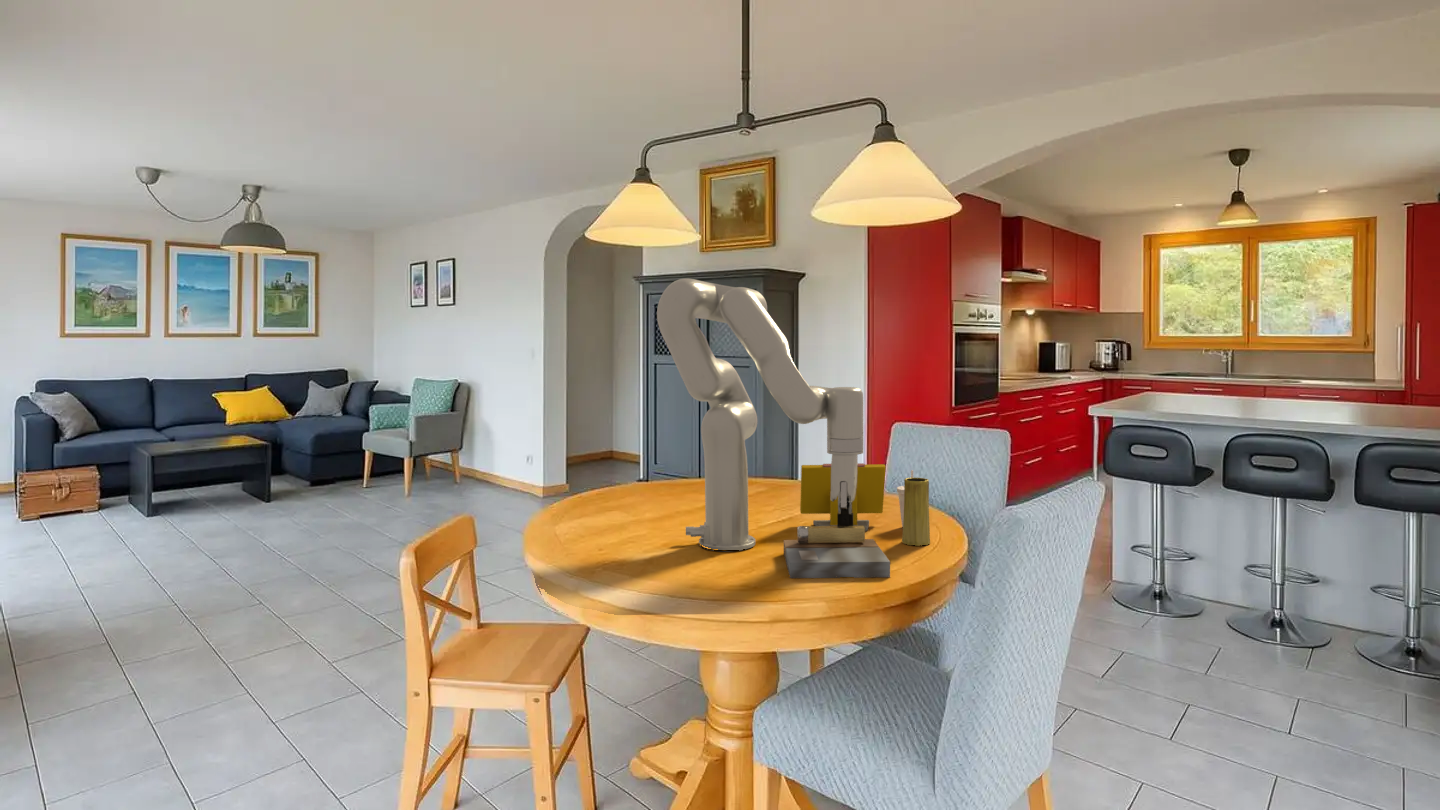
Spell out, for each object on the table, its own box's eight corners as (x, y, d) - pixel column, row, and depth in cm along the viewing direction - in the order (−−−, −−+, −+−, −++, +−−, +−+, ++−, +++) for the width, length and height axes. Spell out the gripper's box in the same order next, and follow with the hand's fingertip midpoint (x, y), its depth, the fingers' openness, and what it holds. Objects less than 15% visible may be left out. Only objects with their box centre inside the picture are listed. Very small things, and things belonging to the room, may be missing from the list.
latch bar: (798, 543, 159) (798, 528, 159) (797, 540, 162) (796, 526, 162) (865, 542, 159) (865, 528, 159) (862, 539, 162) (862, 525, 162)
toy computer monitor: (881, 523, 190) (881, 460, 189) (887, 531, 182) (887, 465, 181) (800, 524, 191) (800, 461, 190) (802, 531, 183) (802, 466, 182)
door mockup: (790, 578, 147) (790, 562, 147) (783, 553, 164) (783, 539, 164) (890, 577, 147) (890, 561, 146) (873, 553, 164) (873, 538, 163)
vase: (931, 547, 168) (931, 482, 167) (902, 545, 169) (902, 481, 168) (929, 539, 174) (929, 477, 173) (901, 538, 175) (901, 476, 174)
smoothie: (908, 532, 181) (909, 473, 180) (890, 526, 187) (891, 469, 186) (929, 528, 184) (930, 470, 183) (911, 523, 190) (911, 467, 189)
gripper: (830, 441, 170) (830, 523, 171) (823, 450, 155) (824, 540, 157) (864, 441, 168) (864, 524, 170) (861, 451, 154) (861, 541, 155)
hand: (845, 531), depth 163 cm, fingers closed
